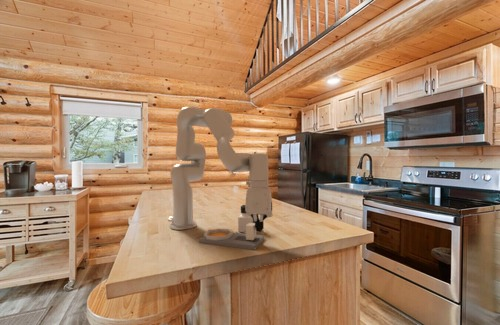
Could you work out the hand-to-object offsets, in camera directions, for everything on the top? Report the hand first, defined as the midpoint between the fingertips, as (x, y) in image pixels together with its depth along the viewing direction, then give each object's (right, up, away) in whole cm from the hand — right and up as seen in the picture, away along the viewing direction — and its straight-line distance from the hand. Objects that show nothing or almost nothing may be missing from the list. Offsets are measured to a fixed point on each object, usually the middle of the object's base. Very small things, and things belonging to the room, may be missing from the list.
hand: (259, 230), depth 94 cm
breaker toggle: (-3, -3, +1) cm, 5 cm away
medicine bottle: (-5, -5, +18) cm, 19 cm away
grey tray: (-11, -5, +4) cm, 13 cm away
